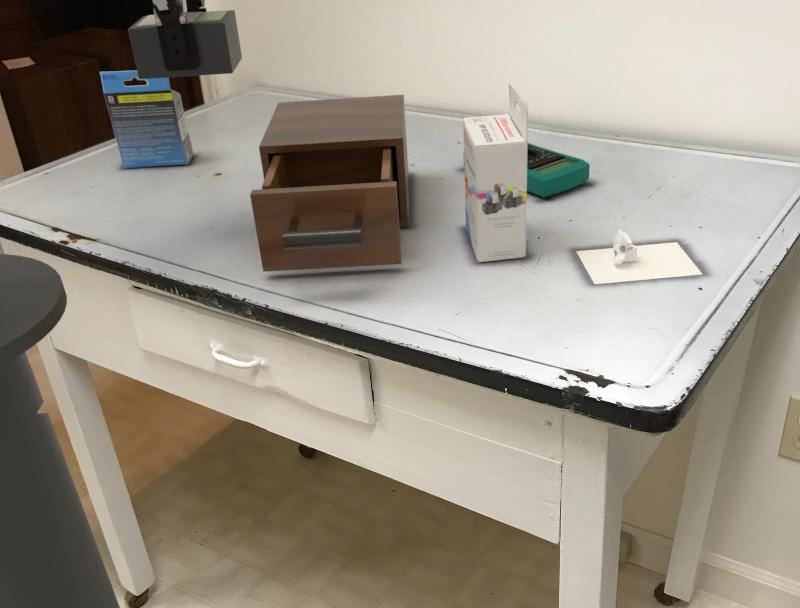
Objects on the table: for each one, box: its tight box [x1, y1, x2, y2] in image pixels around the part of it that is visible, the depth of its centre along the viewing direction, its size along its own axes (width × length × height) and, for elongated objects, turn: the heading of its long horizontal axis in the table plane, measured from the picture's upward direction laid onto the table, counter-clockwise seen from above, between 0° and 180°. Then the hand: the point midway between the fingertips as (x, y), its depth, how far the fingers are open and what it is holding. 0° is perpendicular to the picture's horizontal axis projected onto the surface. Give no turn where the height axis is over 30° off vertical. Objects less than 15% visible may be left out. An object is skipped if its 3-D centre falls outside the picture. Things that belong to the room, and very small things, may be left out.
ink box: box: [462, 81, 529, 263], centre depth 82 cm, size 8×5×15 cm, turn 5°
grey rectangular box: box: [127, 9, 243, 79], centre depth 82 cm, size 9×6×5 cm, turn 90°
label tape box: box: [99, 69, 194, 169], centre depth 110 cm, size 9×4×12 cm, turn 88°
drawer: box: [249, 146, 403, 272], centre depth 84 cm, size 19×13×8 cm
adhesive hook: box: [611, 228, 638, 265], centre depth 80 cm, size 3×3×3 cm
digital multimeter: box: [463, 142, 591, 199], centre depth 100 cm, size 7×15×3 cm, turn 36°
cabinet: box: [258, 94, 410, 228], centre depth 95 cm, size 16×15×10 cm
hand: (190, 58), depth 83 cm, fingers closed on grey rectangular box, 6 cm apart
